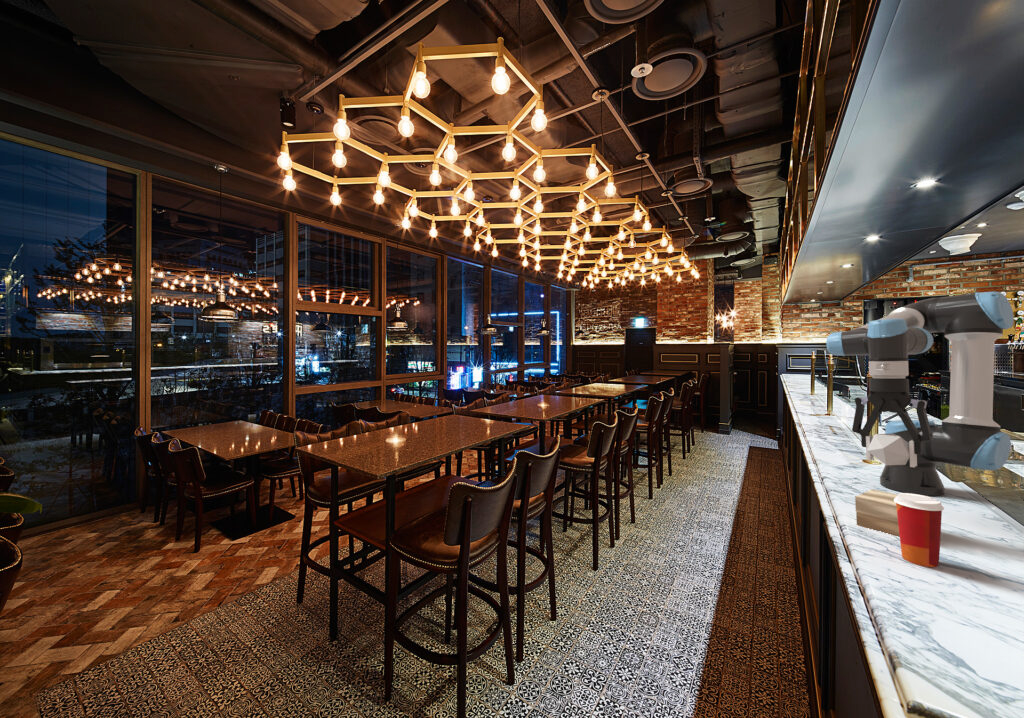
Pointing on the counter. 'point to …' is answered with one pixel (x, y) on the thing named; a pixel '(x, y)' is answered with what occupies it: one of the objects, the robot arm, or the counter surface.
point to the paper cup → (919, 528)
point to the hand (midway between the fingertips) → (891, 462)
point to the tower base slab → (877, 524)
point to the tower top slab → (877, 504)
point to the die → (889, 449)
